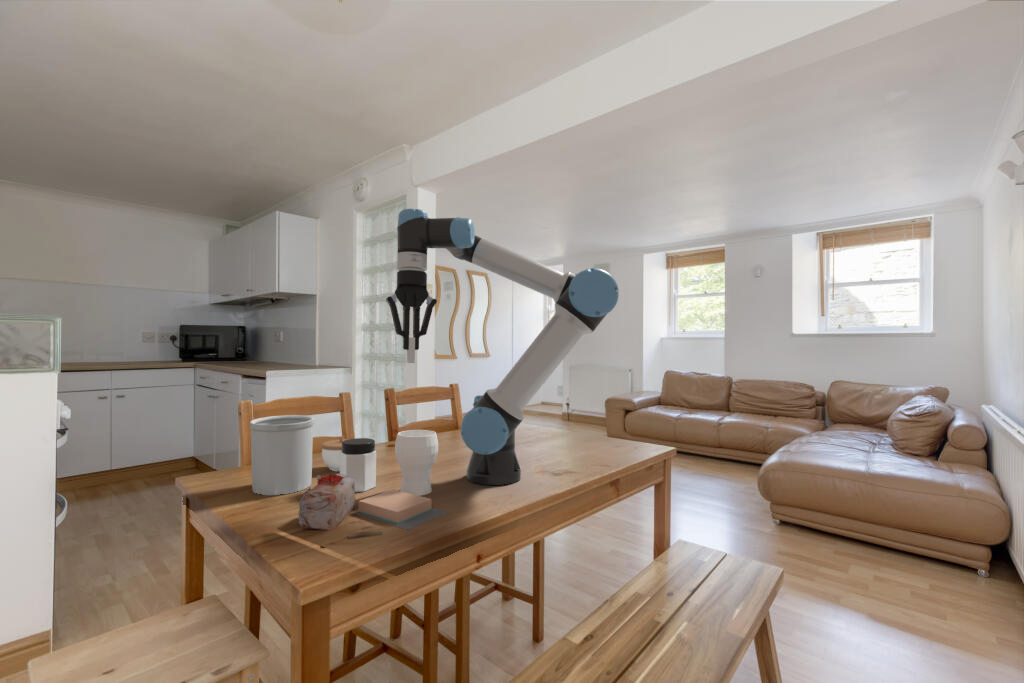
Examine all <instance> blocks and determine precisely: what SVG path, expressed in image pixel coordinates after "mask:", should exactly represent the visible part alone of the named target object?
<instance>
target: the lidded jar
mask: <svg viewBox="0 0 1024 683" xmlns="http://www.w3.org/2000/svg"><path fill="white" fill-rule="evenodd" d="M348 439H349V438H344V436H339V438H338V439H331V440H327V441H323V442H322V443H321V456H322V460H323V463H324V465H325V466H326V467H327V468H329V471H331V470H332V471H331V472H340V452H341V451H342V442H343V441H345V440H348Z"/></svg>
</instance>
